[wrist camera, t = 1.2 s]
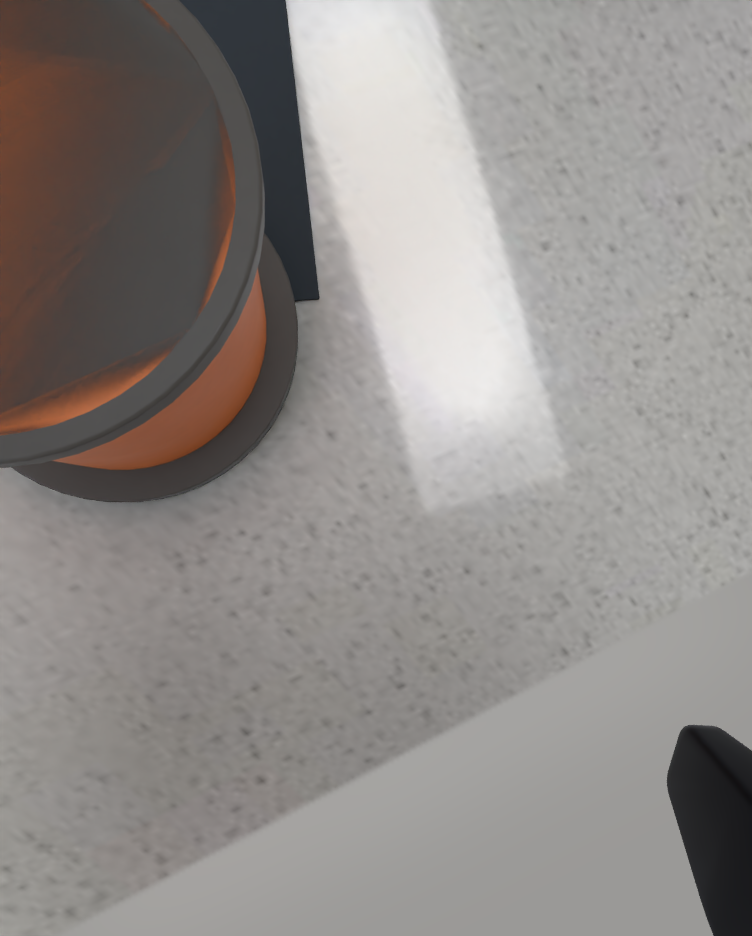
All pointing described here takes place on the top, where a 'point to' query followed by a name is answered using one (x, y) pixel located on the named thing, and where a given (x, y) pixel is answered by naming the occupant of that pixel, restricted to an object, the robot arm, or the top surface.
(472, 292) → the top surface
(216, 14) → the mat
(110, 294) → the spool
